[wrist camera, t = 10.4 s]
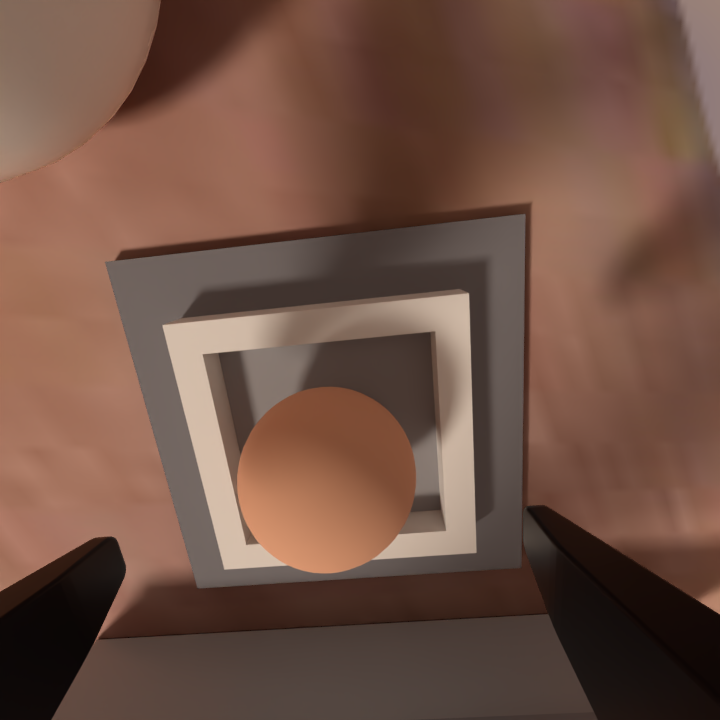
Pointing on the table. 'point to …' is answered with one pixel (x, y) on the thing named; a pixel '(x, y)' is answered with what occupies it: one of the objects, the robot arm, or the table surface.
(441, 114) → the table surface
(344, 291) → the mat
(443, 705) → the gray fence
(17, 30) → the lidded bowl
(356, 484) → the ball
